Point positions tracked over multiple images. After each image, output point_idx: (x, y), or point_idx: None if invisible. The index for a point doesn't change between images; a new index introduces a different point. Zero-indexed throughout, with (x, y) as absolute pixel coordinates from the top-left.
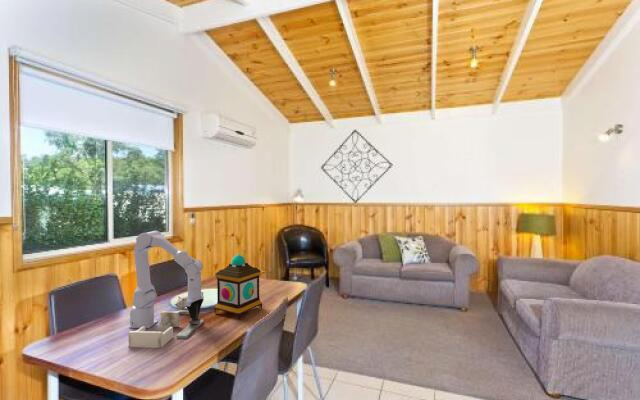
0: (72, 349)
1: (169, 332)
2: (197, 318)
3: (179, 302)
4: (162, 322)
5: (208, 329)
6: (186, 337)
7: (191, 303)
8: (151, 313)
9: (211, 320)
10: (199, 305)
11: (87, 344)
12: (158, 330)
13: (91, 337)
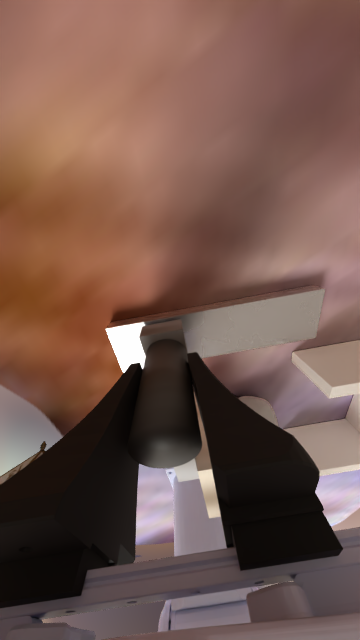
0: (337, 494)
1: (353, 369)
2: (169, 343)
3: None
4: None
5: (192, 230)
6: (317, 287)
7: (334, 544)
8: (209, 522)
9: (68, 293)
10: (113, 429)
11: (316, 491)
12: None
13: None
